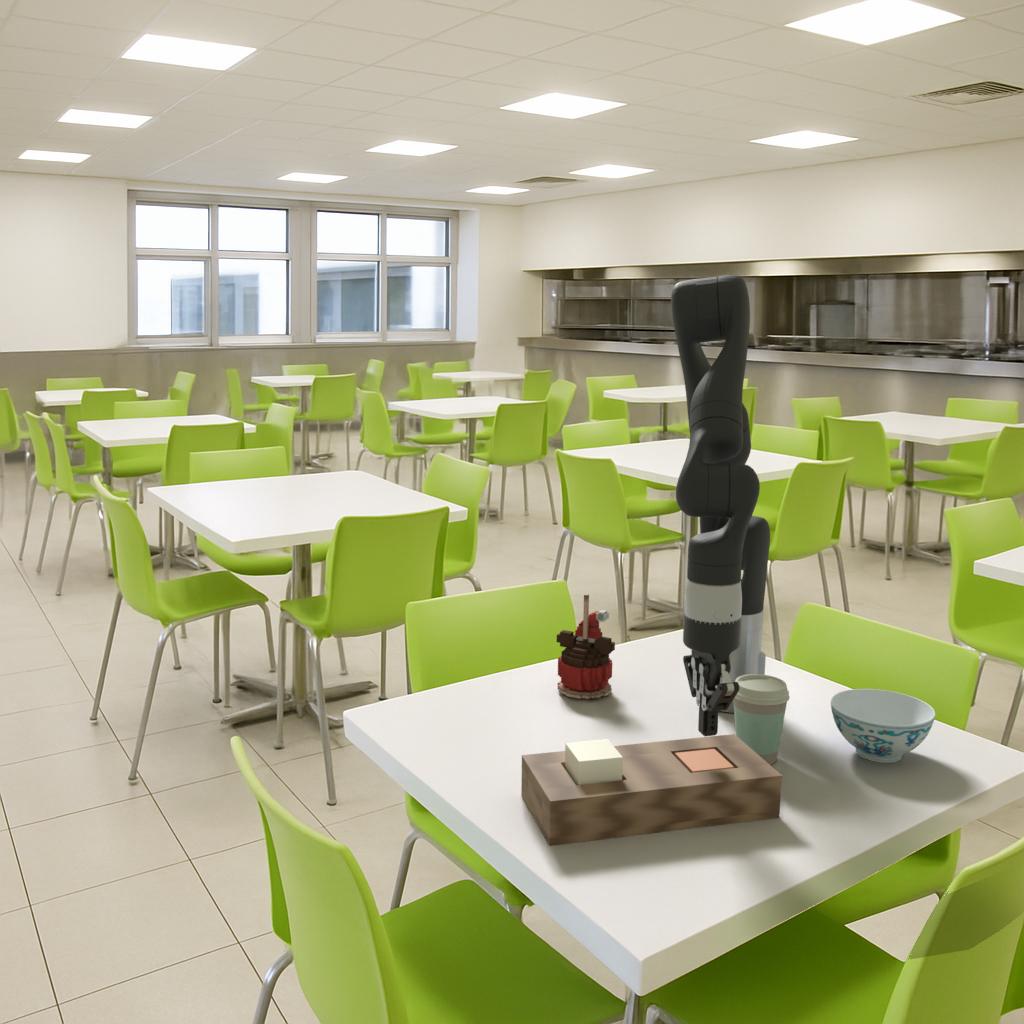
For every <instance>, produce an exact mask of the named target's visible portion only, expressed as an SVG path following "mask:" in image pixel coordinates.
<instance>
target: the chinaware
mask: <svg viewBox="0 0 1024 1024" xmlns="http://www.w3.org/2000/svg"><path fill="white" fill-rule="evenodd" d="M830 707H831V713H832V717H833V720H834V723H835V726H836V728H837V729H838V731H839V733H840V734H841V736H842V737H843V738H844V739H845V740H846V741H847V743H849V744H850V745H851V746H852V747H854V748H855V753H856V752H857V753H856V754H857V755H858V756H859V755H860V756H859V757H861V758H862V759H865V760H867V759H868V761H871V762H876V763H886V764H887V763H888V764H890V763H891V764H892V763H896V762H898V761H901V760H902V758H903V755H905V754H908V753H909V752H910V753H911V751H913V750H914V749H916V748H917V747H918V746H920V745H921V744H922V743H923V742H924V741H925V739H926V738H927V736H928V735H929V733H930V732H931V729H932V727H933V725H934V721H935V719H936V711H935V709H934V708H933V707H932V706H931V705H930V704H929V703H927V702H925V701H923V700H921V699H919V698H917V697H915V696H912V695H908V694H905V693H902V692H897V691H892V690H885V689H878V688H855V689H847V690H843V691H839V692H837V693H835V694H833V696H832V697H831V698H830Z"/></svg>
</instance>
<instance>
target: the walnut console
mask: <svg viewBox="0 0 1024 1024" xmlns="http://www.w3.org/2000/svg"><path fill="white" fill-rule="evenodd" d="M613 746H614V747H615V748H616V750H617V751H618V752H619V753H620V754H621V756H622V757H623V767H622V780H620V781H611V782H602V783H593V784H583V785H576V784H575V783H574V782H573V780H572V779H571V777H570V776H569V774H568V773H567V771H566V770H565V750H561V751H559V750H558V751H551V752H540V753H532V754H522V755H521V797H522V799H523V802H525V805H526V806H527V808H528V810H529V812H530V814H531V815H532V817H533V819H534V821H535V822H536V824H537V825H538V828H539V830H540V831H541V833H542V835H543V837H544V836H545V837H544V838H545V840H546V842H547V844H548V846H549V845H550V846H556V845H557V846H559V845H565V844H574V843H581V842H588V841H589V842H590V841H598V840H604V839H605V840H607V839H614V838H621V837H622V838H623V837H630V836H631V837H632V836H638V835H639V836H640V835H646V834H656V833H663V832H670V831H680V830H689V829H696V828H705V827H711V826H720V825H721V826H722V825H729V824H736V823H745V822H752V821H761V820H769V819H770V818H771V819H777V818H780V817H781V816H780V812H781V803H782V802H781V801H782V799H781V797H782V782H783V775H782V774H781V773H780V772H778V770H776V768H774V767H773V766H772V764H770V765H769V764H768V763H767V762H766V761H765V760H764V759H762V758H761V757H760V756H759V755H758V754H757V753H756V752H754V751H753V750H752V749H751V748H750V747H749V746H747V745H746V744H745V743H744V742H743V741H742V740H740V739H739V738H738V737H737V736H736V733H731V734H722V735H713V736H701V737H694V738H693V737H690V738H680V739H672V740H661V741H650V742H642V743H631V744H630V743H629V744H621V745H620V744H619V745H613ZM708 749H715V750H716V751H717V752H718V753H720V754H721V755H722V756H723V757H724V758H725V759H726V760H727V761H728V762H729V763H730V764H731V765H732V766H733V767H734V768H731V769H722V770H713V771H704V772H694V773H690V772H689V770H688V769H687V768H686V767H685V766H684V765H683V764H682V763H681V762H680V761H679V760H678V759H677V758H676V757H675V753H679V752H689V751H698V750H708Z"/></svg>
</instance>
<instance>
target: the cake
mask: <svg viewBox="0 0 1024 1024" xmlns="http://www.w3.org/2000/svg"><path fill="white" fill-rule="evenodd" d="M589 607H590V594H588V593H585V594H583V619H582V621H580V622H579V623H578V626H577V627H576V629H575V630H574V631H572V630H565V629H563V630H561V631H560V632H559V633H557V634H556V643H559V647H562V648H564V649H563V650H561V654H560V656H559V657H558V658H557V676H559V678H560V681H558V682H557V690H558V691H559V692H560V693H561V694H564V695H565V696H566V697H571V698H574V699H575V698H576V699H584V698H585V699H588V700H589V699H595V698H597V699H598V698H601V697H603V696H604V697H606V696H607V695H609V694H610V693H611V692H612V690H613V689H612V684H610V682H609V680H611V678H612V677H613V659H611V658H610V654H611V653H612V652H614V651H615V650H616V642H614V641H612V637H607V636H603V631H602V630H601V629H602V628H600V622H601V623H604V622H606V621H607V620H608V619H609V618H610V612H608V610H606V609H600V610H599V611H596V610H595V611H594V612H591V613H590V614H589V612H590V611H589Z"/></svg>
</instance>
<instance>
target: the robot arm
mask: <svg viewBox="0 0 1024 1024" xmlns="http://www.w3.org/2000/svg"><path fill="white" fill-rule="evenodd" d="M670 307H671V316H672V324H673V328H674V334H675V339H676V340H675V341H676V343H677V344H676V345H677V349H678V350H677V351H678V353H679V359H680V365H681V370H682V375H683V381H684V388H685V397H686V407H687V417H688V418H687V419H688V429H689V444H688V450H687V453H686V458H685V460H684V463H683V466H682V467H681V471H680V473H679V476H678V480H677V483H676V486H675V487H676V488H675V500H676V503H677V505H678V507H679V509H680V510H681V511H682V513H684V514H685V515H686V516H688V517H694V518H695V517H696V518H697V517H698V518H699V532H700V533H699V534H695V535H693V536H692V537H691V539H690V540H689V542H688V549H687V566H686V567H687V570H686V585H685V588H684V601H683V603H684V604H683V605H684V606H683V628H682V629H683V631H682V633H683V634H682V642H683V645H685V647H687V648H688V649H690V650H691V654H687V655H683V658H682V661H683V666H684V670H685V673H686V677H687V682H688V686H689V690H690V694H691V697H692V698H696V699H695V701H696V705H697V707H698V726H697V727H698V729H697V731H698V732H699V733H700V734H701V735H702V736H703V737H710V736H717V734H718V732H719V731H718V729H719V712H724V713H733V714H734V700H733V699H734V698H735V696H736V694H737V693H738V691H739V684H738V682H735V680H736V679H737V678H738V677H740V676H743V675H748V674H761V675H766V673H765V672H766V661H767V660H766V658H767V657H766V653H765V652H763V651H762V640H763V621H764V605H765V593H766V585H767V572H768V562H769V555H770V548H771V547H770V545H771V530H770V529H771V528H770V525H769V522H768V520H767V519H766V518H764V517H761V516H757V515H756V516H755V515H753V514H754V511H755V508H756V507H757V502H758V499H759V496H760V491H761V490H760V488H761V485H760V479H759V477H758V475H757V474H758V473H756V471H755V470H754V468H752V467H751V465H748V464H747V462H748V459H749V457H750V454H751V451H752V440H751V430H750V420H749V412H748V410H747V408H746V406H745V405H744V403H743V392H744V382H745V381H744V380H745V375H746V374H745V373H746V372H745V371H746V368H747V367H746V365H747V357H748V351H749V350H748V347H749V337H750V327H751V326H750V324H751V309H750V308H751V306H750V297H749V291H748V286H747V283H746V281H745V280H744V278H743V276H740V275H737V274H726V275H718V276H711V277H710V276H709V277H704V278H694V279H693V278H692V279H686V280H682V281H678V282H677V283H675V284H674V286H673V288H672V290H671V295H670ZM718 341H720V342H721V341H724V344H723V346H722V348H721V351H720V352H719V354H718V355H717V358H716V359H715V361H714V362H713V363H712V365H711V363H710V362H709V360H708V358H707V356H706V354H705V353H704V350H703V348H702V345H701V343H709V342H718Z"/></svg>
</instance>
